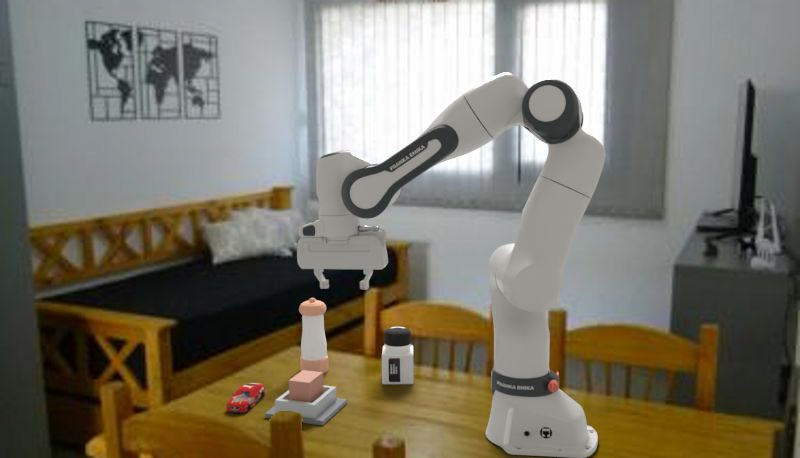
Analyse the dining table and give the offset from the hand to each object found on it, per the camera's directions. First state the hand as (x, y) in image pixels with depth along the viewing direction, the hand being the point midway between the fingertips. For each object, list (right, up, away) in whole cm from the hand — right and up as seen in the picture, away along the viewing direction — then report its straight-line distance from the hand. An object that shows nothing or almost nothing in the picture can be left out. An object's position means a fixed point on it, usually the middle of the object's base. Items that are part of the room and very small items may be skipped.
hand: (344, 288), depth 167 cm
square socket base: (-9, -28, +5) cm, 29 cm away
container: (+12, -25, +24) cm, 36 cm away
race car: (-23, -28, +9) cm, 37 cm away
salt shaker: (-10, -24, +31) cm, 41 cm away
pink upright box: (-9, -27, +4) cm, 28 cm away
